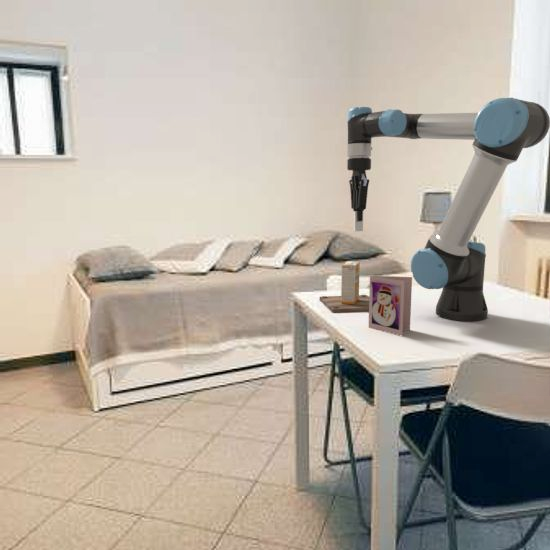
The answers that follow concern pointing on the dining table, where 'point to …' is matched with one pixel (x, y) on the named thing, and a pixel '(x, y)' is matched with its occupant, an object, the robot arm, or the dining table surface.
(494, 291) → the dining table surface
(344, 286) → the supplement box
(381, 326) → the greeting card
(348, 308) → the plate
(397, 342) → the dining table surface
